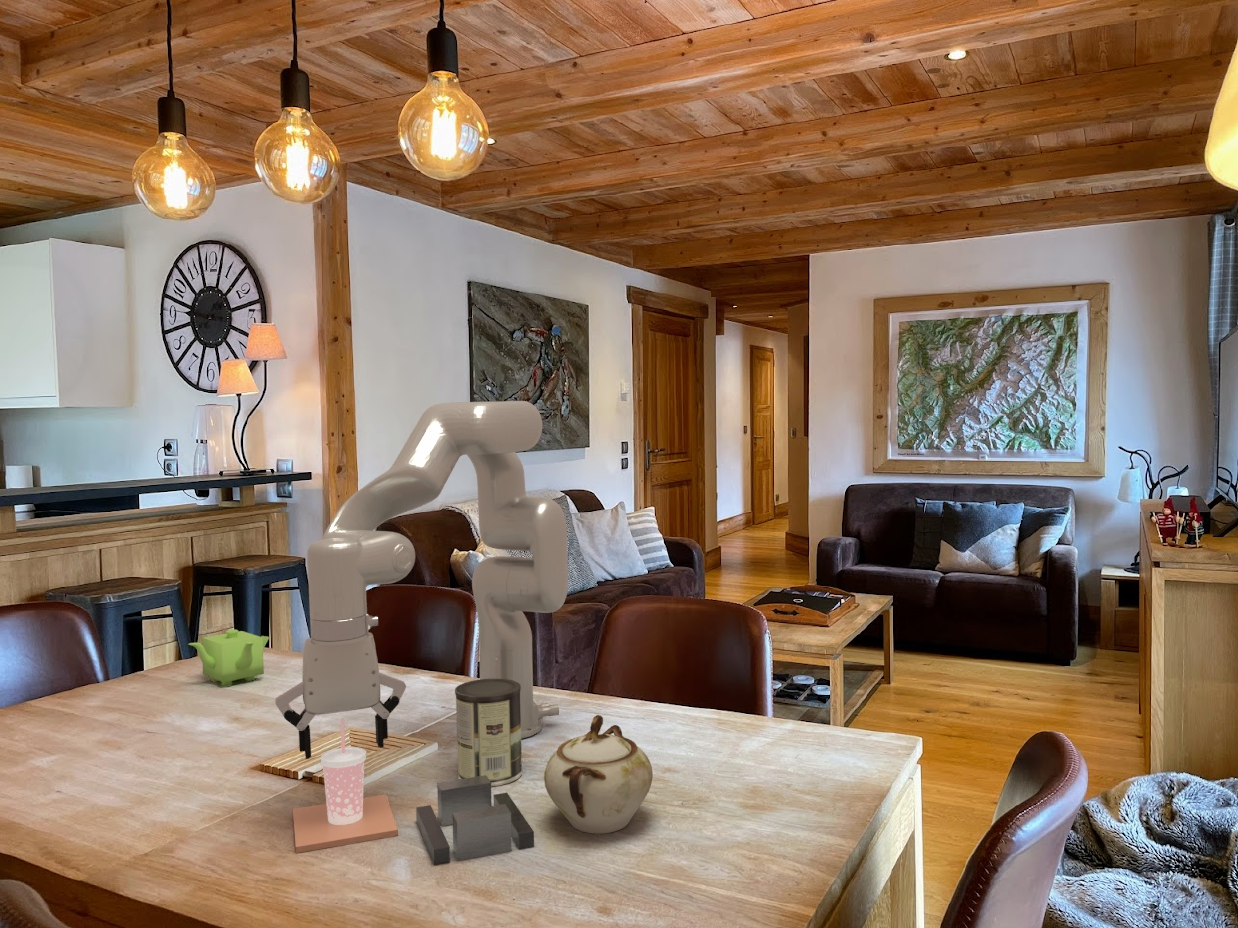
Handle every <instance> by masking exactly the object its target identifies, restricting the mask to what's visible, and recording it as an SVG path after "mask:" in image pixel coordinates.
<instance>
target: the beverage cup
mask: <svg viewBox="0 0 1238 928" xmlns="http://www.w3.org/2000/svg"><path fill="white" fill-rule="evenodd" d="M345 730H346V729H345V718H344V717H340V740H341V742H340V743H341V744H340V745H341V746H340V747H337V748H333V749H330V750H327V751H325V752H324V753H322V754H321V756H320V757H319V758H320V764H321V766H322V770H323V771H322V772H323V781H324V791H325V800H326V801H325V802H326V803H325V804H327V814H328V821H329V823H331V824H333V825H347V824H351V823H354V822H357V821H359V820H360V819H361V818H362V816H363V798H364V788H365V787H364V781H365V761H366V758H367V750H365V749H364V748H361V747H358V746H346V740H345V739H346V736H345V735H346V733H345Z"/></svg>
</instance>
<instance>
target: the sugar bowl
mask: <svg viewBox="0 0 1238 928" xmlns="http://www.w3.org/2000/svg"><path fill="white" fill-rule="evenodd" d="M603 725H604V717H603V716H602V715H600V714H596V715H595V716H593V718H592V721H591V724H590V729H589V731H588V732H587V733H586V734H584V735H581V736H577V737H574V738H571V739H569V740H568V739H567V741H564V742H563V743H561V744H560V745H559V746H558V748H557V750H556V751H555V752H553V753H552V755H551V757H550V758H549V759H548V762H547V763H546V766H545V769H544V776H543V781H544V786H545V787H544V788H545V789H546V792H547V794H548V796H549V798H550V799H551V801H552V802H553V803H554V805H555V806H556V807H557V809H558V810H559V811H560V812H561V813H562V815H564V817H565V818H566V819H567V821H568V822H569V823H570V825H571V827H573V828H574V829H576V830H577V831H580V832H584V833H587V834H597V835H598V834H600V835H603V834H610V833H614V832H617V831H619V830H622V829H624V828H625V827H626V826H627V825H628V824H629V823H630V822H631V820H632V818H633V817H634V815H635V814H636V812H637V811H638V810H639V808H640V807H641V806H642V804H643V802H644V801H645V799H646V797H647V795H648V794H649V792H650V789H651V786H652V783H653V778H654V777H653V767H652V763H651V761H650V758H649V757H648V755H647V754H646V753H645V751H643V749H641V748H640V747H639V746H637V744H636V742H634V741H633V740H632V739H630V738H628V737H625V736H624V735H623V732H622V729H621V727H620V726H619V725H617V724H614V725H611V726H609V728H608V729H606V730H605V731H604V732H603V733H600V732H601V729H602V726H603ZM613 734H614V735H613Z"/></svg>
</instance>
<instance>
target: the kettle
mask: <svg viewBox="0 0 1238 928" xmlns="http://www.w3.org/2000/svg"><path fill="white" fill-rule="evenodd" d="M269 640H270V636H266V635H265V636H264V635H261V636H259V635H257V634H253V633H250V632H246V631H242V630H240V631H239V630H238V629H228V630H226V631H225V633H223V634H222V633H221V634H216V635H211V636H205V637H203V636H202V638H201V642H190V643H188V644H187V645H189V646H192V647H194V648H195V650H197V653H198V655H199V658H200V660H201V663H202V674H203V675H204V676H207V677H209V678H211V679H210V682H211V681H218V682H221V684H220V687H230V686H232V685H233V681H236V680H241V679H244V680H245V682H253V681H252V680H254V681H256V680H257V678H256V677H255V676H260V675H264V674H265V673H264V671H265V670H264V667H265V666H264V648H265V646H266V644H267V643H268V641H269ZM255 679H256V680H255Z"/></svg>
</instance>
